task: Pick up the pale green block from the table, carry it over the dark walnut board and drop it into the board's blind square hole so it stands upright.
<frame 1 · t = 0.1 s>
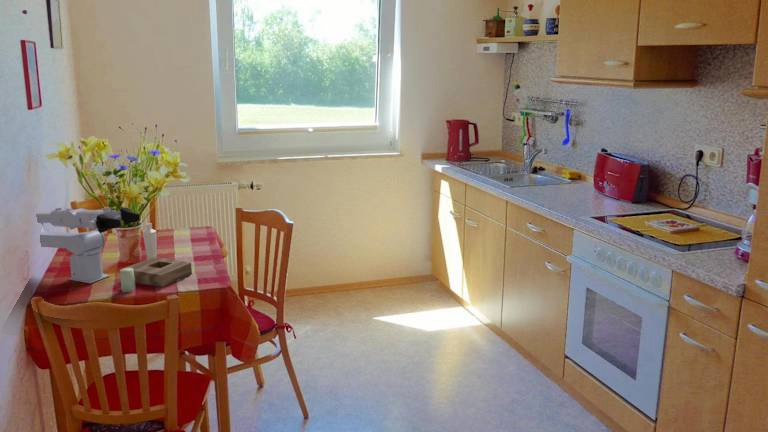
hand: (129, 220, 197), 22 cm above the table, tool horizontal, fingers open, 7 cm apart
socket board: (158, 277, 211), on the table
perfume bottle: (152, 265, 223), on the table
pale green block: (128, 289, 199), on the table
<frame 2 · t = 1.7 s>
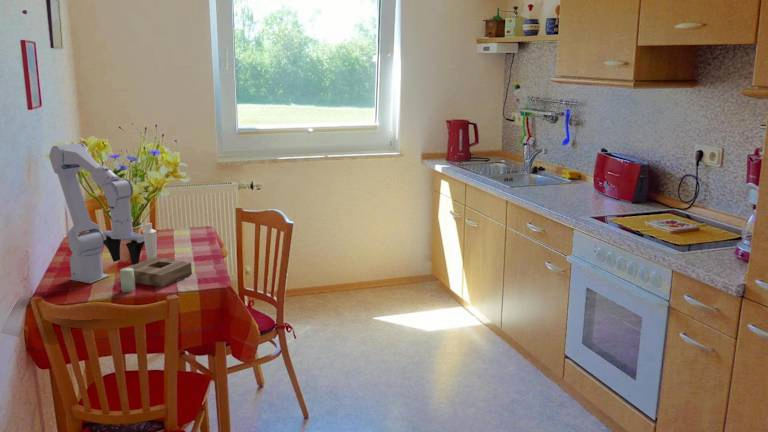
hand: (125, 262, 197), 9 cm above the table, tool pointing down, fingers open, 7 cm apart
nothing on the table moved.
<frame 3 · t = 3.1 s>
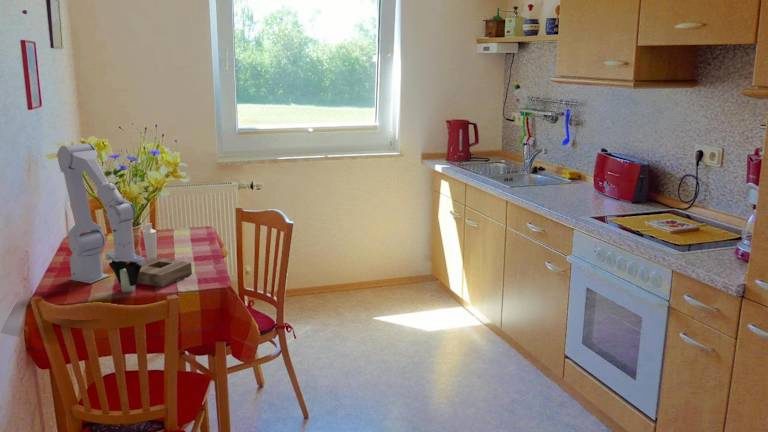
hand: (128, 283, 199), 2 cm above the table, tool pointing down, fingers closed on pale green block, 4 cm apart
pale green block: (128, 289, 199), on the table, touching gripper
everything else where it was.
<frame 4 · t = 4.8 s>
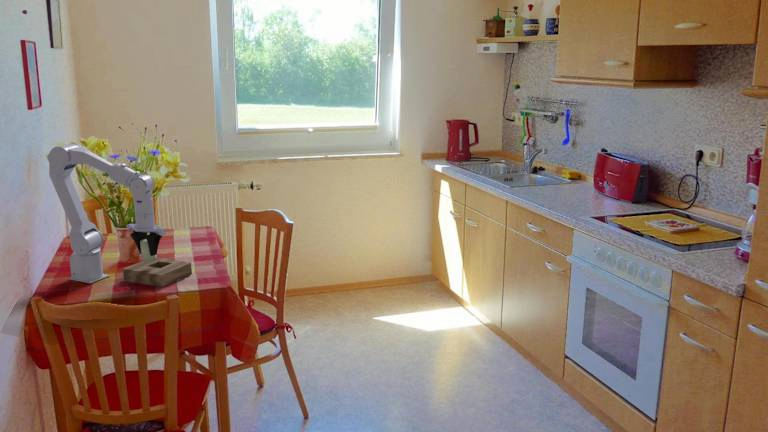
hand: (148, 254, 205), 9 cm above the table, tool pointing down, fingers closed on pale green block, 4 cm apart
pale green block: (148, 260, 206), point 7 cm above the table, touching gripper
everything else where it was.
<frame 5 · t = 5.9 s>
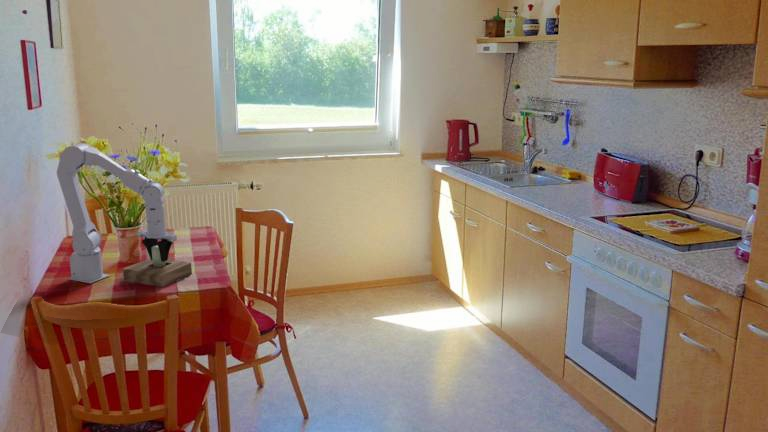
hand: (159, 260, 210), 6 cm above the table, tool pointing down, fingers closed on pale green block, 4 cm apart
pale green block: (159, 265, 211), point 4 cm above the table, touching gripper
everything else where it was.
when the fingers open (4 cm above the table, at t = 6.6 s): pale green block drops 1 cm, resting on socket board.
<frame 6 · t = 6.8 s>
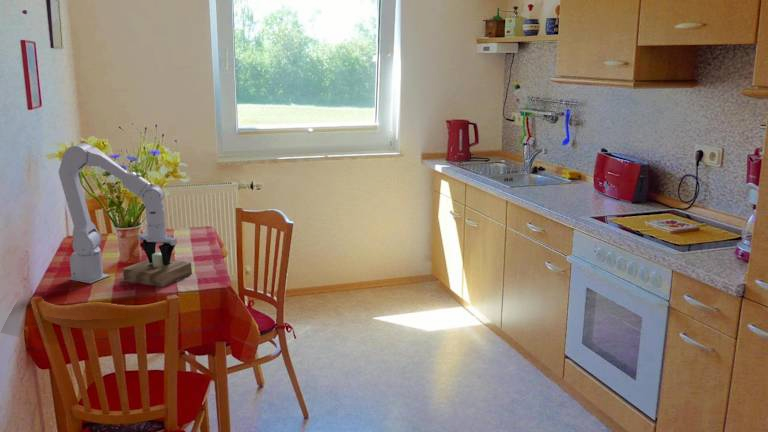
hand: (159, 263, 210), 4 cm above the table, tool pointing down, fingers open, 5 cm apart
pale green block: (160, 273, 211), point 1 cm above the table, touching socket board
everything else where it was.
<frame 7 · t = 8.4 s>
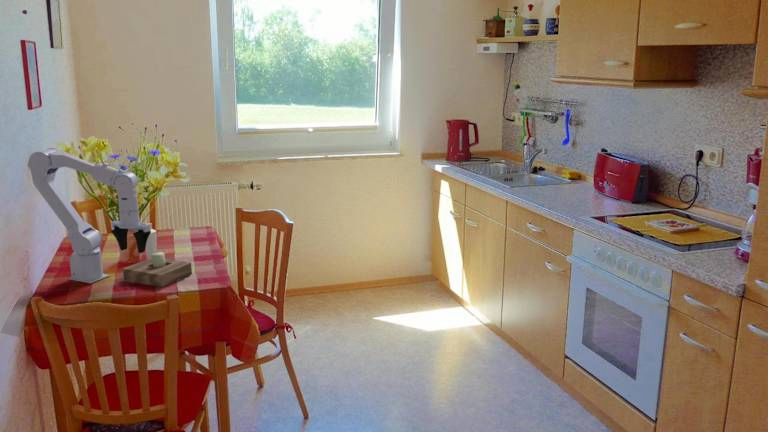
hand: (132, 250, 207), 9 cm above the table, tool pointing down, fingers open, 7 cm apart
nothing on the table moved.
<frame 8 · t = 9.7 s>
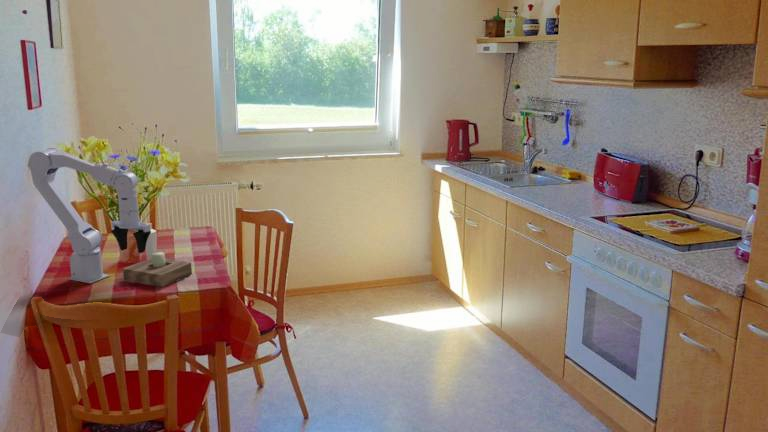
hand: (132, 250, 207), 9 cm above the table, tool pointing down, fingers open, 7 cm apart
nothing on the table moved.
at the end: pale green block 0.1 cm from the target spot on the socket board, point 1.2 cm above the socket board's base; pale green block tilted 2°; the gripper is holding nothing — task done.
